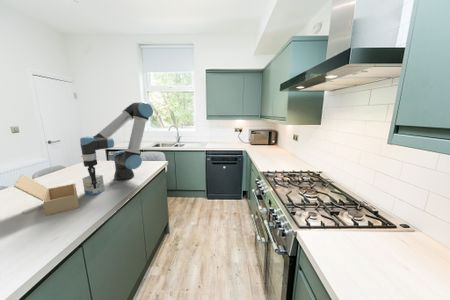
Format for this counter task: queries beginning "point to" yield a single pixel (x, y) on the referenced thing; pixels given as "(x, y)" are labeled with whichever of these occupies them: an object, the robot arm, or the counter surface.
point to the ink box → (88, 185)
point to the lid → (31, 187)
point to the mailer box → (60, 199)
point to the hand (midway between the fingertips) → (94, 189)
